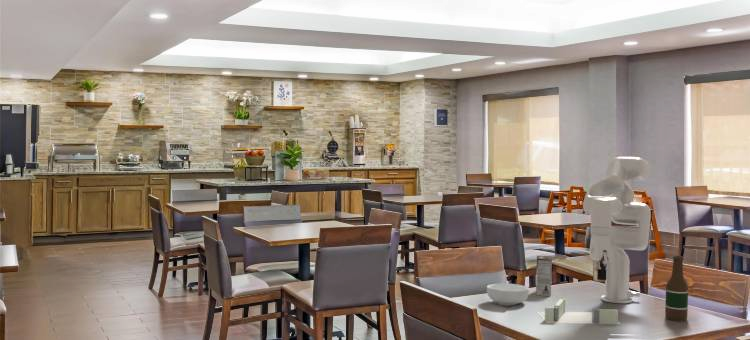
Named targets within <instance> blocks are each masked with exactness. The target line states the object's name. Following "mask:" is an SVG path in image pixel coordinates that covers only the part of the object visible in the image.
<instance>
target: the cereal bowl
mask: <svg viewBox="0 0 750 340" xmlns="http://www.w3.org/2000/svg"><path fill="white" fill-rule="evenodd" d="M529 292H530V288H529V287H527V286H526V285H522V284H517V283H516V284H515V283H493V284H488V285H487V286H486V293H487V296H488V297H489V299H490V300H492V301H493V302H495V303H496V304H497V305H500V306H504V307H505V306H507V307H512V306H515V305H518V304H521V303H523V302H525V301H526V300H527V299H528V297H529Z"/></svg>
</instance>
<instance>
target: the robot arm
mask: <svg viewBox="0 0 750 340" xmlns="http://www.w3.org/2000/svg"><path fill="white" fill-rule="evenodd" d="M651 169H652V168H651V166H650V163H649V161H647V160H646V159H643V158H642V157H638V156H637V157H636V156H617V157H616V156H614V157H612V158H611V159H610V160H609V162H608V164H607V166H606V171H605V173H604V176H603V178H602V179H600V180H598V181H596V182H594V183H593V184H591V186H589V188H587V190H586V193H585V196H584V199H583V202H582V208H583V211H584V213H585V214H587V215H588V216H589V215H590V241H589V254H588V255H589V258H590V260H592V261H593V264H592V265H593V267H592V277H593V278H594V260H595V261H597V262H598V264H599V269H598V278H597V279H598V280H606V281H604V282H605V283H604V294H602V295H601V296H600V300H601V301H603V302H607V303H610V304H611V303H612V304H631V303H632V302H633V297H634V298H636V297H637V298H640V297H641V292H639V291H637V292H636V291H632V290H630V264H631V263H630V262H631V260H630V258H629V255H628V254H627V252H626V251H625V250H629V251H630V250H631V251H645V250H646V249H647V248H648V245H649V239H650V230H651V229H650V228H651V220H652V219H651V217H652V214H651V208H650V206H649V205H648V204H646V203H642V202H634V198H635V191H634V190H633V188H632V187H631V185H630V184H629V183H628V182H627V181H635V182H638V181H639V182H646V181H647V180H649V178H650V176H651ZM610 195H612V196H610ZM612 222H613V223H614V224H617V225H612ZM618 224H620V225H618ZM626 225H628V226H626ZM600 260H603V261H600ZM601 263H602V264H601Z"/></svg>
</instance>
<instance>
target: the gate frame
mask: <svg viewBox="0 0 750 340" xmlns="http://www.w3.org/2000/svg"><path fill="white" fill-rule="evenodd" d="M536 314H538V315H539V316H540V318H542V319H543V320H544V321H545V322H546V323H547V324H587V325H588V324H592V325H593V324H597V325H598V324H599V325H603V324H604V325H608V324H609V325H621V324H622V323H621V322H620V321H619V309H607V308H606V309H603V308H602V309H601V308H600V309H599V308H592V311H591V312H590V311H565V312H564V313H563V314H562V316H561V317H560V318H559V319H558V316H559V308H558V307H555V306H553V307H551V306H549V307H544V311H536Z"/></svg>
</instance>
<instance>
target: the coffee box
mask: <svg viewBox="0 0 750 340" xmlns="http://www.w3.org/2000/svg"><path fill="white" fill-rule="evenodd" d="M552 263H553V259H552V255H549V256H548V255H536V271H535V273H536V274H535V275H536V276H535V278H536V279H535V286H536V287H535V293H536V296H543V297H545V296H546V297H552V293H551V292H552V274H553V273H552V271H553V268H552V267H553V265H552Z"/></svg>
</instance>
